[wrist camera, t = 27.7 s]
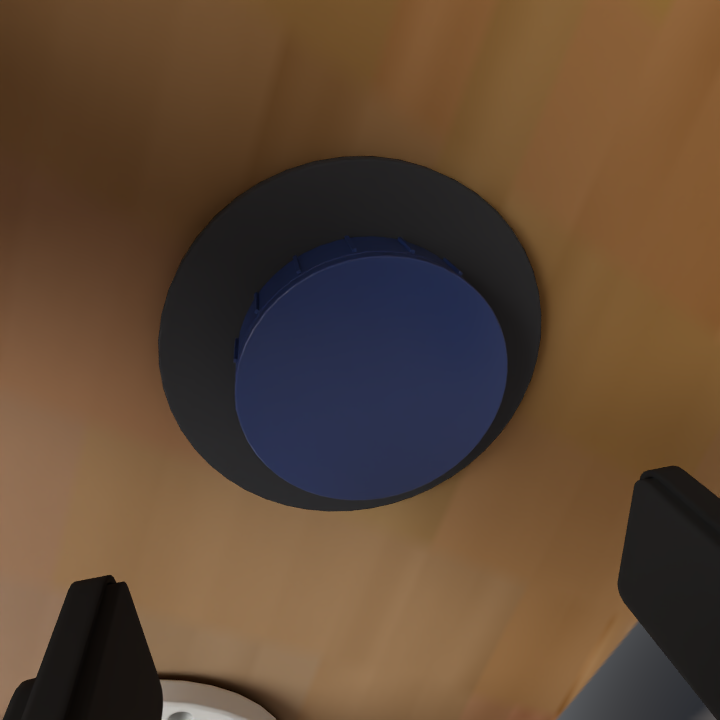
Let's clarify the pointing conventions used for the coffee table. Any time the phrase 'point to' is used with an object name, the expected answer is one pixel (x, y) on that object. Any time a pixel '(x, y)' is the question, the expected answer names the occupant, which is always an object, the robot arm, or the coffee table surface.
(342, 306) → the lid
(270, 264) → the coaster
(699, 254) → the coffee table surface
